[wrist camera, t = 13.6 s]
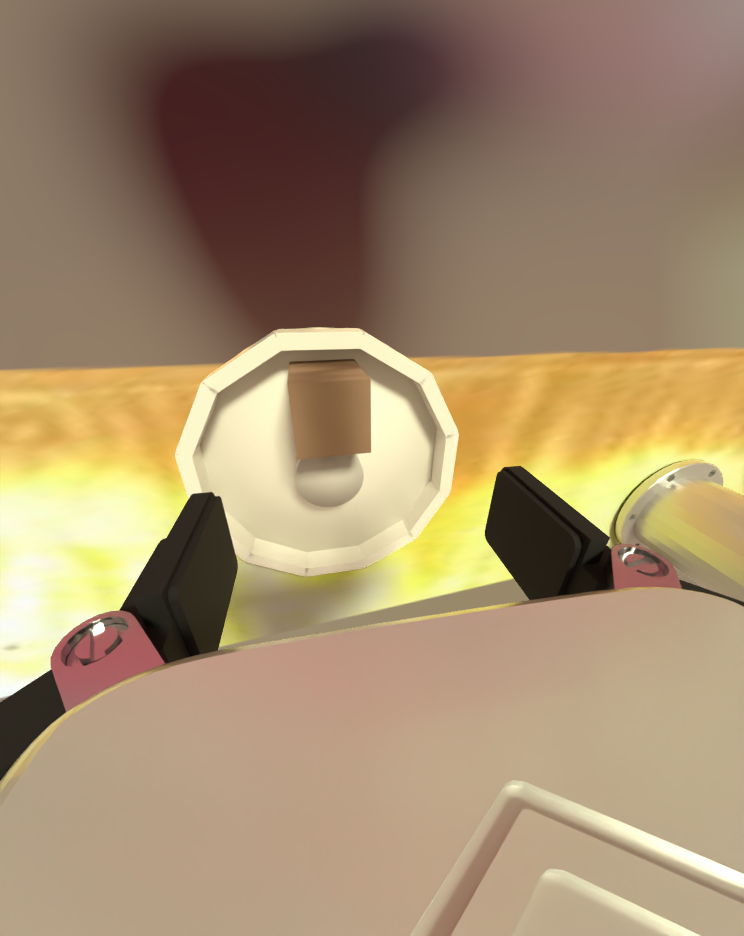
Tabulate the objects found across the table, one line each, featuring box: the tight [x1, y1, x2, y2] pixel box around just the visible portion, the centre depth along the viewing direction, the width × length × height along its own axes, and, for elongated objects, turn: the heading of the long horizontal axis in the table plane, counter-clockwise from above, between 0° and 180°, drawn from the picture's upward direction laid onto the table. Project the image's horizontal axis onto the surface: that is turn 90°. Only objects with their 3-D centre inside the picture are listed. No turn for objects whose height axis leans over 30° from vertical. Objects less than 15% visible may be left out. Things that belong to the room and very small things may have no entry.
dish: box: [175, 327, 459, 577], centre depth 26 cm, size 20×20×4 cm
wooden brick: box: [287, 359, 371, 460], centre depth 21 cm, size 4×4×6 cm
